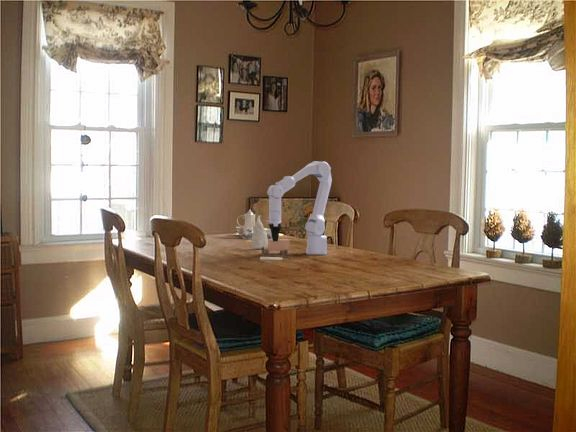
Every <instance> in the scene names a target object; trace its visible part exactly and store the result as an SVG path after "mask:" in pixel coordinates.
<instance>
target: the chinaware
mask: <svg viewBox="0 0 576 432" xmlns="http://www.w3.org/2000/svg"><path fill="white" fill-rule="evenodd" d="M240 217H242V219H243V220H244V224H243V225H241V224H240V223H239V218H240ZM261 217H262V215H261V214H259V215H257V217H256V213H255V214H254V212H253V211H252V210H251V209H249V210H248V211H247V212H246V213H244V214H241V215H239V216H237V218H236V224H237V226H235V228H234V229H233V232H234V233H235V234H238V236H240V237H241V238H242V239H243V240H252V235H253V231H254V226H255V224H256V221H257V220H258V219H259V220H260V221H261ZM256 219H257V220H256ZM264 229H265V230H266V233H267V238H268V239H272V235H271V229H270V228H267V227H266V228H265V227H264ZM235 230H236V231H237V232H236V231H235Z"/></svg>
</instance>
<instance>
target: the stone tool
mask: <svg viewBox="0 0 576 432" xmlns="http://www.w3.org/2000/svg"><path fill="white" fill-rule="evenodd" d="M264 228H265V227H264V224H263V223H262V221H261V219H260V220H259V219H258V220H255V226H254V231H253V235H252V239H251V242H250V243H251V245H250V246H251V249H253V250H262V247H264V250H265V249H268V238H267V233H266V230H265V229H264Z"/></svg>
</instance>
